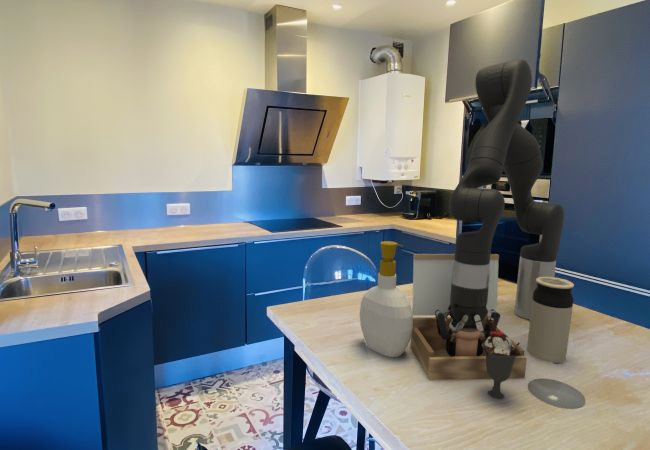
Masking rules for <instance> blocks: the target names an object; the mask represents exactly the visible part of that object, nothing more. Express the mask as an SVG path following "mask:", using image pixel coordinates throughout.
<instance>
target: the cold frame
mask: <svg viewBox="0 0 650 450" xmlns="http://www.w3.org/2000/svg"><path fill="white" fill-rule="evenodd" d="M451 320H452V318H451V317H450V316H448V317H447V321H445V324H446V330H447V331H448V329H449V324H450V322H451ZM486 321H487V317H485V318H484V319H483V320H482V322H481V324H482V327H483V330H484V327H485V324H486ZM497 328H498V327H497ZM497 328H496V331H495V332H496V333H497V332H498V330H499V331H501V332H502V333H503V334H505V333H504V331H502V330H501V329H499V328H498V330H497ZM446 341H447V340H444V339H442V337H441V336H440V335H439V334H438V329H437V322H436V316H435V317H430V316H429V317H428V316H427V317H413V328H412V334H411V339H410V342H409V348H410V350H411V351H412V353H413V355H414V357H415V358H416V360H417V362H418V363H419V365H420V367H421V369H422V370H423V371H424V373H425V375H426V377H427V378H428V380H429V381H440V380H442V381H445V380H447V381H449V380H487V379H488V380H490V379H491V380H493V379H492V378H491V377H490V376H489V375H488V373H487V368H486V354H485V351H484V348H483V353H482V354H481V356H462V357H450V356H449V355H448V353H447V352H446ZM485 341H486V340H485ZM485 341H484V342H485ZM517 344H518V343H516V342H515V341H514V340H512V345H515V346H516V345H517ZM517 347H518V348H519V349H520V354H521V356H518V357H515V360H514V363H513V367H512V371H511V374H510V377H509V378H508V379H525V378H526V377H525V376H526V369H527V368H526V367H527V359H528V358H527V357H526V356H525V352H526V351H525V350H524V349H523V348H522V347H521V346H519V345H518V346H517Z"/></svg>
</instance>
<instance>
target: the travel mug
mask: <svg viewBox="0 0 650 450" xmlns="http://www.w3.org/2000/svg"><path fill="white" fill-rule="evenodd" d="M536 282H537V288H536V289H535V290H534V292H533V299H532V308H531V317H530V320H529V327H528V335H527V336H528V338H527V343H526V344H527V346H526V351H527V353H528V354H529V355H530V356H532V357H534V358H536V359H538V360H541V361H546V362H549V363H550V362H551V363H553V364H561V363H565V361H566V359H567V353H568V347H569V346H568V345H569V337H570V330H571V329H570V328H571V323H572V321H571V320H572V313H573V305H574V297H573V294H572V289H573V288H574V286H575V284H574V283H573V282H571V281H570V280H568V279H563V278H559V277H555V276H554V277H539V278H537V279H536Z"/></svg>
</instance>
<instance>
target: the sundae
mask: <svg viewBox="0 0 650 450" xmlns="http://www.w3.org/2000/svg"><path fill="white" fill-rule="evenodd" d="M490 323H491V324H492V323H493V326H494V325H495V324H494V321H490ZM495 326H496V325H495ZM495 326H494V330H493V331H492V332H490V335H491V336H490V337H488V338H487V339H486V341H485V342H484V343H483V344H482V347H483V348H484V351H485V354H486V368H487V373H488V375H489V376H490V377H491V378H492V379H491V380H493V386H492V389H491V390H488V391H487V395H488V396H489V397H490V398H492V399H495V400H503V399H504V398H505V394H504V393H502V392H501V385H502V383H503V382H505V381H507V380H508V379H510V378H509V377H510V374H511V371H512V367H513V363H514V360H515V357H518V356H521V354H520V349H519V348H518V347H517V346H519V345H520V342H517V343H516V344H517V345H516V346H515V345H512V341H513V340H512V339H511V337H509V336H508V335H507V334H506V333H504V332H503V331H502V330H501V331H502V332H503V333H504V334H503V333H502V332H501V331H499V330H500V329H499V327H498V325H497V326H496V328H497V330H498V329H499V330H498V332H497V333H496V332H494V331H495Z"/></svg>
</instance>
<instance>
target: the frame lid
mask: <svg viewBox="0 0 650 450" xmlns="http://www.w3.org/2000/svg"><path fill="white" fill-rule="evenodd" d="M412 255H413V264H412V265H413V266H412V267H413V268H412V269H413V270H412V272H413V274H412V277H413V278H412V307H411V310H412V314H413V317H414V316H435V311H436V310H440V311H443V310H448V307H449V306H450V295H451V282H452V270H453V265H454V260H455V253H451V254H450V253H413V254H412ZM499 259H500V255H499V254H497V253H494V254H492V253H490V264H489V268H490V282H489V289H488V300H487V305H486V308H487V310H491V309H494V310H495V311H496V312H497V311H498V289H499V287H498V283H499V282H498V281H499Z"/></svg>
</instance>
